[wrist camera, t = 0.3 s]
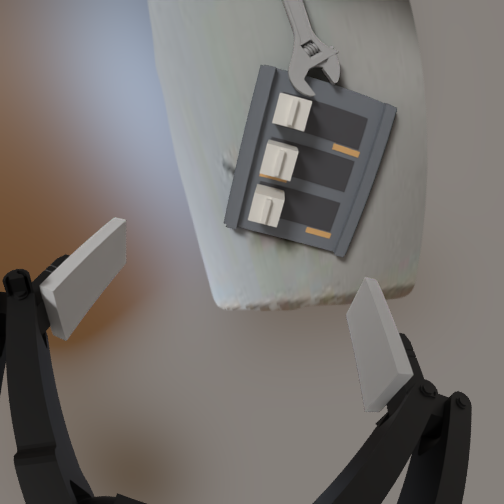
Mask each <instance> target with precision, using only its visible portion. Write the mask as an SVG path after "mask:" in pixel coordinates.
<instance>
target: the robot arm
mask: <svg viewBox="0 0 504 504" xmlns="http://www.w3.org/2000/svg"><path fill="white" fill-rule="evenodd" d="M125 264H126V220H124V219H120V218H115V217H114V218H113V219H112V220H111V221H109V222H108V223H107V224H106V225H105V226H103V227H102V228H101V229H100V230H99V231H97V232H96V233H95V234H94V235H93V236H92V237H91V238H89V239H88V240H87V241H86V242H85V243H84V244H83V245H82V246H80V247H79V248H78V249H77V250H76V251H75V252H74V253H73V254H72V255H64V256H62V257H59V258H57V259H56V260H55V261H54V262H53V263H52V264H51V266H49V267H48V268H46V270H45V271H43V272H42V273H41V274H40V275H39V276H38V277H37V278H36V279H35V280H34V281H33V282H32V283H31V279H30V275H29V272H28V271H26V270H24V269H16V270H12V271H10V272H9V273H7V274H6V275H5V276H4V278H3V284H4V287H5V290H6V292H0V393H1V386H2V380H3V374H4V369H5V364H6V368H7V383H8V393H9V403H10V410H11V417H12V424H13V429H14V435H15V439H16V445H17V453H16V454H15V455H14V465H15V469H16V473H17V477H18V480H19V484H20V487H21V490H22V493H23V497H24V499H25V502H26V504H146V503H143V502H140V501H137V500H134V499H131V498H128V497H126V496H123V495H120V494H117V496H116V497H110V496H101V497H100V496H99V497H94V494H93V492H92V490H91V488H90V486H89V484H88V482H87V480H86V479H85V477H84V476H83V473H82V471H81V469H80V467H79V464H78V461H77V459H76V456H75V453H74V450H73V447H72V444H71V441H70V438H69V435H68V431H67V428H66V425H65V421H64V417H63V414H62V410H61V406H60V402H59V397H58V393H57V389H56V384H55V379H54V374H53V369H52V363H51V357H50V350H49V343H48V336H47V333H46V330H47V329H48V328H49V327H50V326H51V330H52V332H53V335H55V336H57V337H59V338H61V339H63V340H67V339H68V338H69V336H70V335H71V334H72V332H73V331H74V329H75V328H76V327H77V325H78V324H79V322H80V321H81V320H82V318H83V317H84V315H85V314H86V313H87V311H88V310H89V309H90V308H91V306H92V305H93V304H94V302H95V301H96V300H97V299H98V297H99V296H100V294H101V293H102V292H103V291H104V290H105V288H106V287H107V286H108V284H109V283H110V282H111V281H112V280H113V278H114V277H115V276H116V275H117V273H118V272H119V271H120V270H121V268H122V267H123V266H124V265H125ZM346 318H347V322H348V327H349V331H350V335H351V340H352V345H353V350H354V355H355V360H356V364H357V370H358V375H359V381H360V386H361V392H362V397H363V404H364V410H365V411H366V412H380V411H381V410H382V409H383V408H384V407H385V406H386V405H387V409H388V412H387V413H386V414H385V415H384V416H383V417H382V418H381V419H380V420H379V421H378V422H377V423H376V425H377V427H376V428H375V430H374V431H373V432H372V434H371V435H370V437H369V438H368V439H367V441H366V442H365V443H364V445H363V446H362V447H361V448H360V450H359V451H358V452H357V454H356V455H355V456H354V457H353V459H352V460H351V461H350V462H349V464H348V465H347V466H346V467H345V468H344V470H343V471H342V472H341V473H340V474H339V475H338V477H337V478H336V479H335V480H334V481H333V482H332V483H331V485H330V486H329V487H328V488H327V489H326V490H325V491H324V492H323V493H322V494H321V495H320V496H319V497H318V499H317V500H316V501H315V502H314V503H313V504H381V503H382V501H383V500H384V498H385V497H386V495H387V494H388V492H389V491H390V489H391V488H392V486H393V485H394V483H395V482H396V480H397V478H398V477H399V475H400V473H401V472H402V470H403V468H404V466H405V465H406V463H407V461H408V459H409V457H410V456H411V454H412V456H411V460H410V464H409V467H408V471H407V474H406V477H405V481H404V484H403V487H402V490H401V493H400V497H399V499H398V502H397V504H462V500H463V495H464V489H465V483H466V476H467V469H468V460H469V450H470V437H471V408H472V407H471V402H470V400H469V398H468V397H467V396H466V395H465V394H464V393H462V392H459V391H457V392H454V393H453V394H452V395H451V396H450V397H446V396H443V395H440V394H438V392H437V389H436V387H435V386H434V385H433V384H432V383H431V382H430V381H428V380H425V379H424V377H423V375H422V372H421V369H420V366H419V364H418V361H417V358H415V357H416V355H415V353H414V351H413V348H412V345H411V342H410V341H409V339H408V338H407V337H406V336H405V334H402V333H399V332H398V330H397V327H396V325H395V322H394V319H393V317H392V315H391V312H390V310H389V307H388V305H387V302H386V300H385V297H384V295H383V293H382V290H381V288H380V286H379V283H378V281H377V280H376V279H372V278H368V277H364V279H363V282H362V284H361V286H360V288H359V290H358V292H357V294H356V296H355V298H354V300H353V302H352V304H351V306H350V308H349V310H348V312H347V314H346Z"/></svg>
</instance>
